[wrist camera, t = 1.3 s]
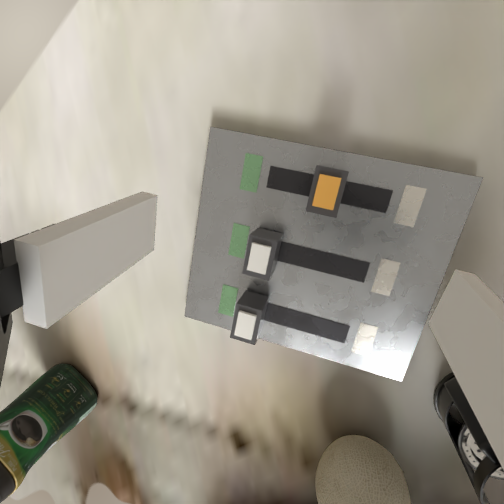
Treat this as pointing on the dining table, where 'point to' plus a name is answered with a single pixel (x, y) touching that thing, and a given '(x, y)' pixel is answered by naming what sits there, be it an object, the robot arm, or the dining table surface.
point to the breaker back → (249, 317)
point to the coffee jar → (40, 421)
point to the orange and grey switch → (326, 191)
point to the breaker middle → (262, 253)
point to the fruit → (359, 474)
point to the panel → (327, 247)
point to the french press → (467, 436)
